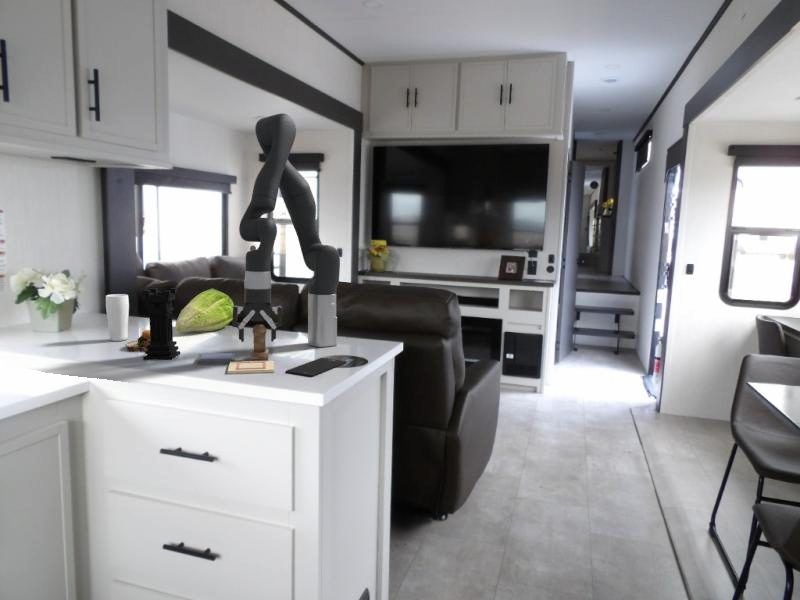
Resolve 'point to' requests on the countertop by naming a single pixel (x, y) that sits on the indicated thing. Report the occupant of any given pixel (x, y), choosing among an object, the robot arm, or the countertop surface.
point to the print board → (251, 367)
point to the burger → (140, 342)
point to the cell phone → (316, 367)
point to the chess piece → (160, 325)
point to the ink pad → (216, 358)
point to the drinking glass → (117, 316)
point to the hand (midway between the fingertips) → (257, 341)
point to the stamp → (259, 344)
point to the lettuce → (206, 312)
